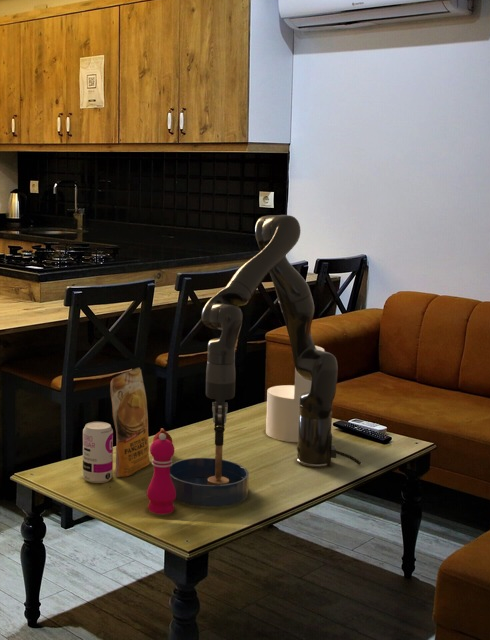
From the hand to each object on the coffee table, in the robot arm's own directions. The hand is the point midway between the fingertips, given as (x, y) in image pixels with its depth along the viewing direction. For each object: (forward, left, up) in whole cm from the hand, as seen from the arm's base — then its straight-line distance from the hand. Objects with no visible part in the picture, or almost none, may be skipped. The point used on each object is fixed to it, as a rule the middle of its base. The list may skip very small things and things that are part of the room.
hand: (219, 443), depth 230 cm
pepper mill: (+14, +15, -14) cm, 24 cm away
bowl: (+3, +1, -13) cm, 14 cm away
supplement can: (+33, -5, -14) cm, 36 cm away
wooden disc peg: (0, 0, -12) cm, 12 cm away
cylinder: (-23, -55, -14) cm, 62 cm away
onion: (+17, -28, -14) cm, 36 cm away
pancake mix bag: (+25, -14, -14) cm, 32 cm away
